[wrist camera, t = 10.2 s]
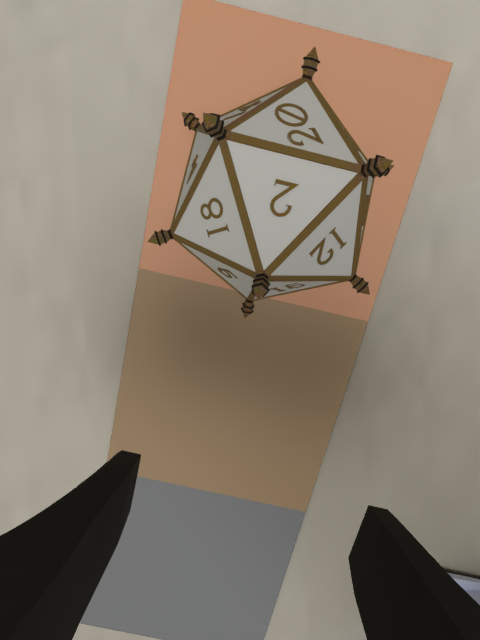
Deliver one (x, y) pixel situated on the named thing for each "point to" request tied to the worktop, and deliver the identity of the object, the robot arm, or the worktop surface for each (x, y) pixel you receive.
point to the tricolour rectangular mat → (244, 341)
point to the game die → (276, 194)
